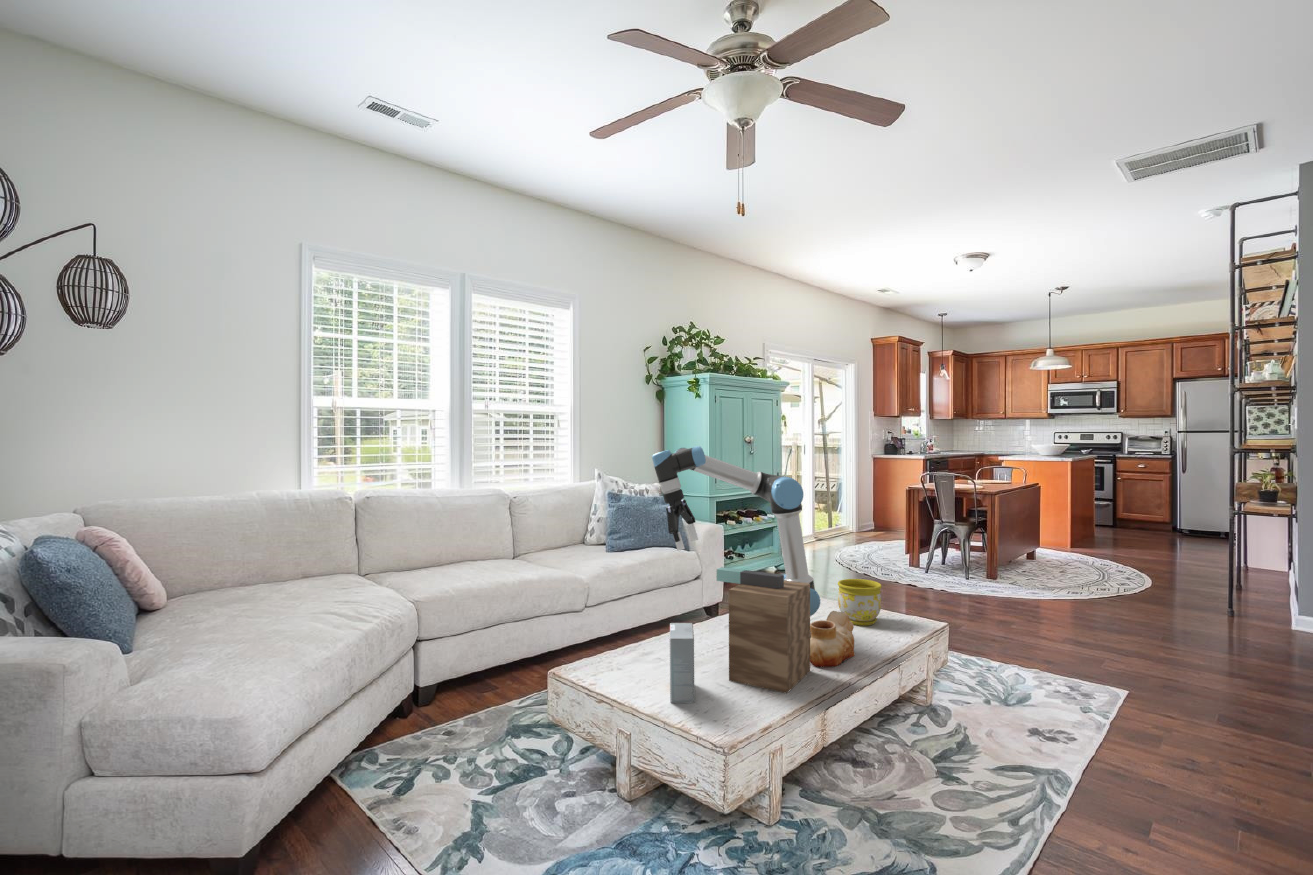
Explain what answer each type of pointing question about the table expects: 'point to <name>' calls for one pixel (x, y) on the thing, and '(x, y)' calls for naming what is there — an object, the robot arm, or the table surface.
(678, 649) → the hard drive box
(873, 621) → the flowerpot
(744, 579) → the bar
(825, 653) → the ceramic vessel
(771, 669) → the upright wooden block
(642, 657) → the table surface
